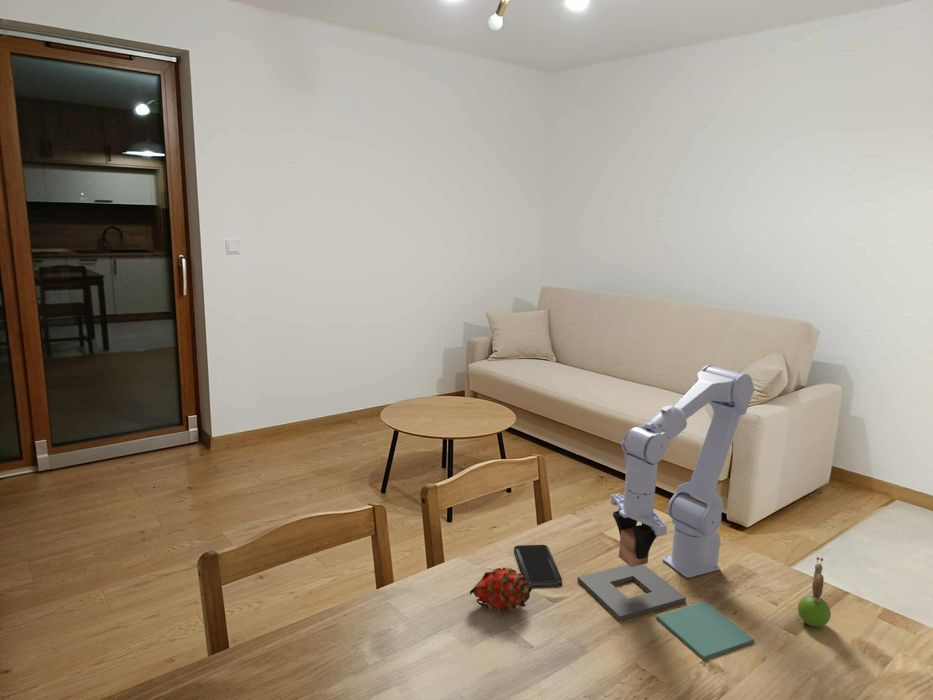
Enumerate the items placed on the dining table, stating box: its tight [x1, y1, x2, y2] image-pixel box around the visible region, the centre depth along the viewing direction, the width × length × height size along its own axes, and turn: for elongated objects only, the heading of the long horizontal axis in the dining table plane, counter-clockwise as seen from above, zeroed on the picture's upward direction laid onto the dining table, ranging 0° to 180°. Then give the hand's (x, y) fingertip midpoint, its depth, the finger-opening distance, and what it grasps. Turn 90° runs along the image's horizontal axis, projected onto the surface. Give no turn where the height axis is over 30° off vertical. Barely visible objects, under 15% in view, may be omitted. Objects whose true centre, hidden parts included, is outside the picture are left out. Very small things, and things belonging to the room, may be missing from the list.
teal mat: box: [656, 601, 755, 660], centre depth 116 cm, size 12×12×1 cm
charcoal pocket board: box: [577, 563, 687, 622], centre depth 127 cm, size 16×14×1 cm
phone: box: [513, 544, 563, 588], centre depth 135 cm, size 8×1×15 cm
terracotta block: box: [618, 527, 650, 567], centre depth 125 cm, size 4×4×6 cm
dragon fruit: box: [469, 567, 533, 615], centre depth 120 cm, size 8×8×12 cm
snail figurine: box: [797, 556, 832, 628], centre depth 118 cm, size 5×6×12 cm
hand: (634, 551), depth 125 cm, fingers closed on terracotta block, 4 cm apart
